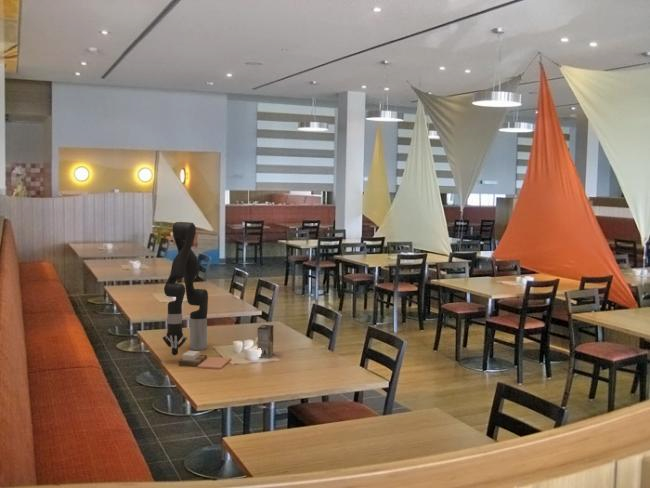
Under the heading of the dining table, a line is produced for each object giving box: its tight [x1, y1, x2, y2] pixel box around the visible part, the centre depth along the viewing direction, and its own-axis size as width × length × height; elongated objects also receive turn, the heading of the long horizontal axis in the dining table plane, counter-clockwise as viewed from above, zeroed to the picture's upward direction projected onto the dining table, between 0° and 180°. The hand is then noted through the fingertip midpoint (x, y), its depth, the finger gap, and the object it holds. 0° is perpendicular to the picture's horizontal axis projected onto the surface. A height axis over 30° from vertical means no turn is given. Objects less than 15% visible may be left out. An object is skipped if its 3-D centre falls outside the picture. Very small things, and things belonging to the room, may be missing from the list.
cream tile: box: [181, 350, 201, 360], centre depth 351 cm, size 9×6×2 cm, turn 172°
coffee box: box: [257, 324, 274, 359], centre depth 366 cm, size 9×6×16 cm
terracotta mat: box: [197, 356, 232, 370], centre depth 350 cm, size 18×12×1 cm, turn 172°
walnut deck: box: [178, 354, 208, 368], centre depth 351 cm, size 14×10×2 cm
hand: (174, 354), depth 352 cm, fingers closed
